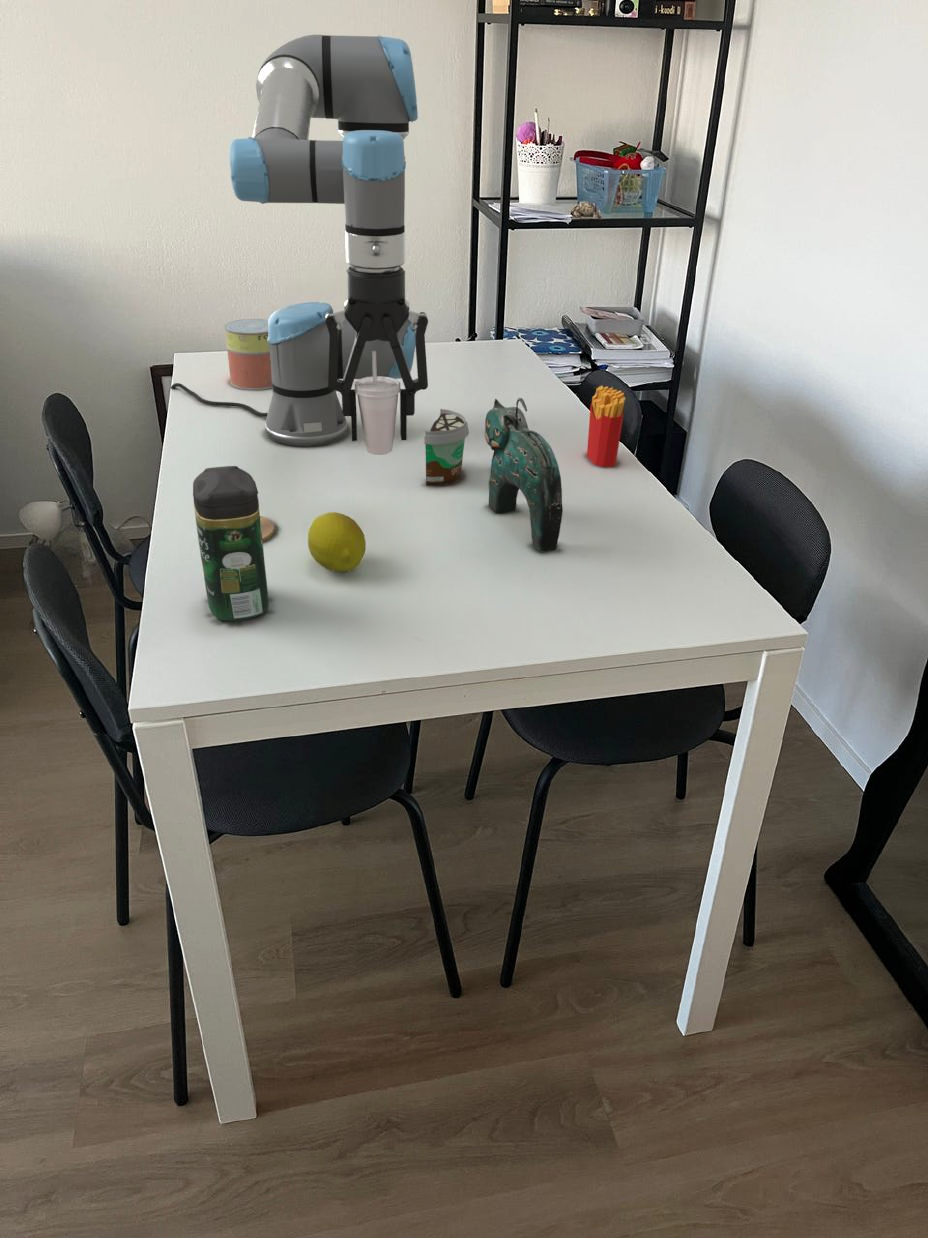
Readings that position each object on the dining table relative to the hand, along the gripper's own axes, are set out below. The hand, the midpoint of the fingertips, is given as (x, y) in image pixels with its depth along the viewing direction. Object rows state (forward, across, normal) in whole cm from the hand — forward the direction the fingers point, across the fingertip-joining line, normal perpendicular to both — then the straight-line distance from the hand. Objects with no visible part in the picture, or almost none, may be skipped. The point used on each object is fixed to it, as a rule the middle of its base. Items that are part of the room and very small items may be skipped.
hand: (379, 436), depth 133 cm
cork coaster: (+17, -21, +4) cm, 27 cm away
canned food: (+17, -24, +77) cm, 83 cm away
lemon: (+17, -6, -7) cm, 19 cm away
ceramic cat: (+17, +22, +4) cm, 28 cm away
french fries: (+17, +41, +30) cm, 54 cm away
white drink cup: (+2, 0, 0) cm, 2 cm away
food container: (+17, +13, +24) cm, 32 cm away
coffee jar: (+17, -20, -17) cm, 31 cm away
